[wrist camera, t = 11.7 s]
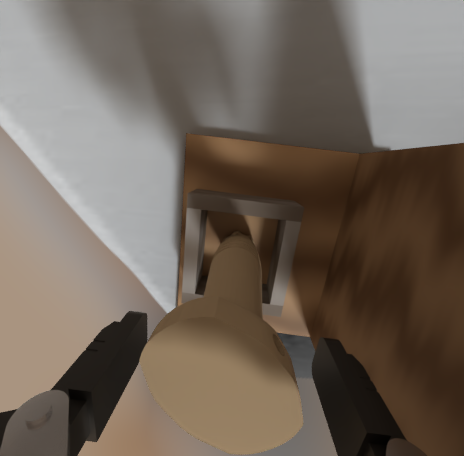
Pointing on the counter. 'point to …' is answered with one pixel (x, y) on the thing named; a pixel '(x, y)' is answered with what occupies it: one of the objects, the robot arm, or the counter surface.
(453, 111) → the counter surface
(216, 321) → the handle
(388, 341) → the board
